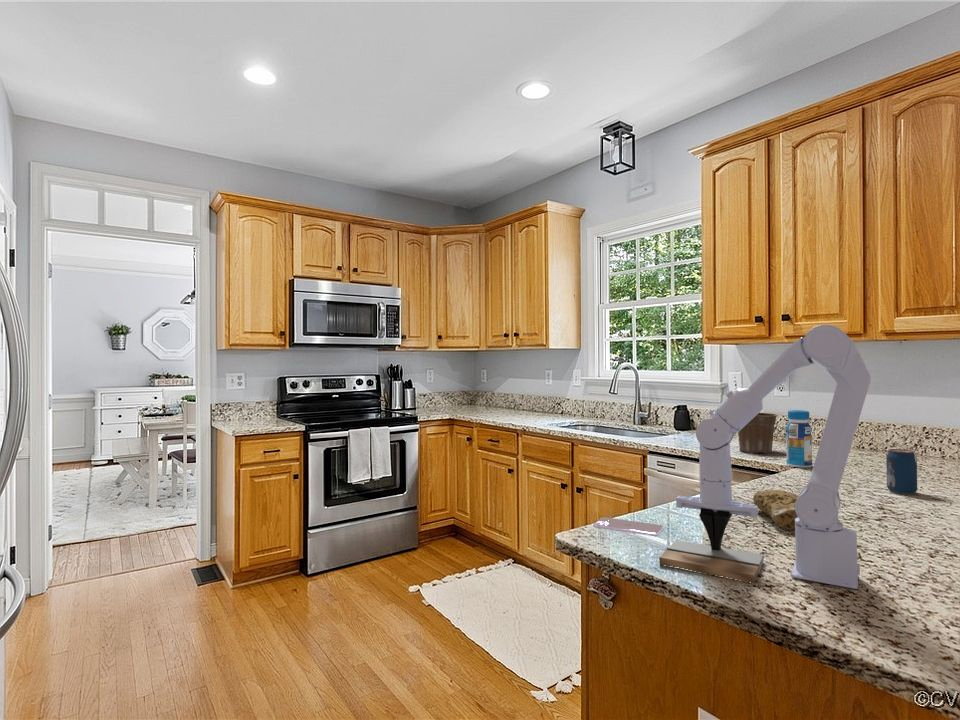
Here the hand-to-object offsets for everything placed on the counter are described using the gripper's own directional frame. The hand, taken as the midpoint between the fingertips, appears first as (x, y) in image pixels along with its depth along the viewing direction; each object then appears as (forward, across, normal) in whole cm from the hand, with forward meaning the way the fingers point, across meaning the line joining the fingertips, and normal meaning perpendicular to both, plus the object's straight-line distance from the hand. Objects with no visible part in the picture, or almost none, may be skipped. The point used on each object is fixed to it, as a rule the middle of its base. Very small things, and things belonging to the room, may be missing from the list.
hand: (716, 548), depth 105 cm
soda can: (+2, -34, -84) cm, 90 cm away
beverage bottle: (+2, -7, -114) cm, 115 cm away
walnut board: (+1, 0, +8) cm, 8 cm away
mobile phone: (+2, +21, -10) cm, 23 cm away
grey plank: (+1, 0, +2) cm, 2 cm away
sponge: (+2, -9, -34) cm, 36 cm away
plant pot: (+2, +11, -142) cm, 142 cm away
